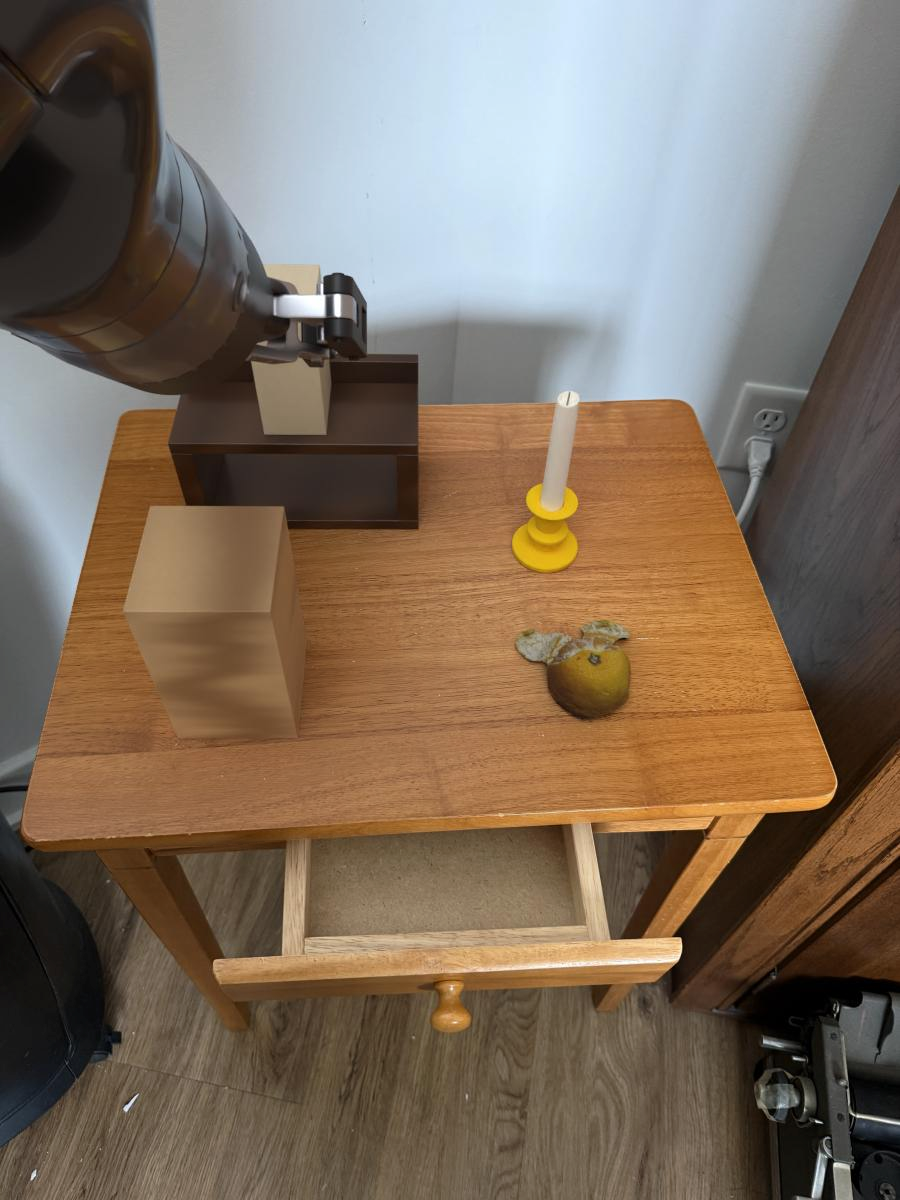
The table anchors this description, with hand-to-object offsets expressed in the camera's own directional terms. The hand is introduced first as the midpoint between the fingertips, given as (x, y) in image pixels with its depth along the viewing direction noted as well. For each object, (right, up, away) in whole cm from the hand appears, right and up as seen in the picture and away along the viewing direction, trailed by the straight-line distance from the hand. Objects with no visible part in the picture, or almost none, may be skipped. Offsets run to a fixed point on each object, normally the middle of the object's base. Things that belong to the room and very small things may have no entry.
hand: (233, 345), depth 46 cm
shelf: (-1, -4, +28) cm, 29 cm away
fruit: (+21, -18, +19) cm, 33 cm away
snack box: (0, +1, +21) cm, 21 cm away
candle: (+19, -9, +25) cm, 33 cm away
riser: (-3, -19, +16) cm, 25 cm away
